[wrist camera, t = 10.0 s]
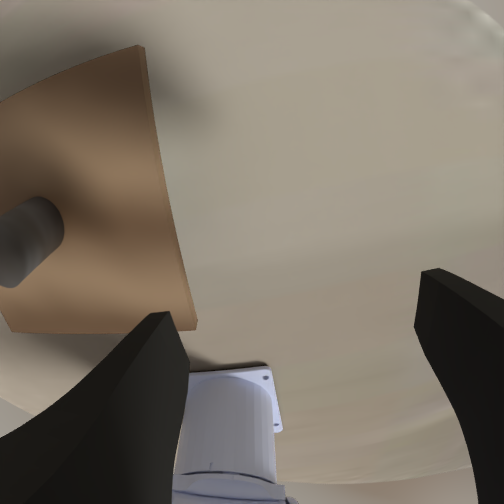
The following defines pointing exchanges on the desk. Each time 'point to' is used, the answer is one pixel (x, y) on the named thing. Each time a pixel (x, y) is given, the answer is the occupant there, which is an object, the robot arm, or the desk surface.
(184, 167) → the desk surface
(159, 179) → the walnut lid
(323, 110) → the desk surface
